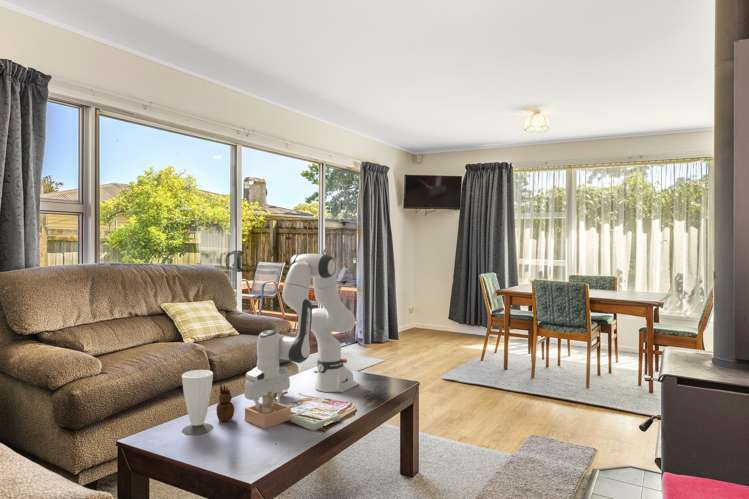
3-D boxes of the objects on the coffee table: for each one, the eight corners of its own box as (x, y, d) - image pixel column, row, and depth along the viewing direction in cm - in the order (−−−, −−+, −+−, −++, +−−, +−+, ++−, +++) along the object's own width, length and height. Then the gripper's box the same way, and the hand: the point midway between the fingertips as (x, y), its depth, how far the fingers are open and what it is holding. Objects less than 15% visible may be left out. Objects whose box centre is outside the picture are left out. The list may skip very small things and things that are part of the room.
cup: (175, 432, 188) (174, 375, 187) (196, 421, 199) (196, 368, 198) (199, 437, 184) (199, 379, 183) (219, 426, 194) (219, 371, 194)
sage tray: (316, 412, 210) (316, 406, 210) (339, 420, 201) (339, 414, 201) (290, 421, 200) (290, 415, 200) (313, 430, 191) (313, 424, 191)
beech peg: (268, 417, 205) (269, 388, 204) (275, 419, 202) (275, 390, 201) (259, 420, 201) (259, 390, 201) (266, 422, 198) (266, 393, 198)
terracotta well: (271, 411, 210) (271, 400, 210) (290, 419, 202) (290, 407, 202) (244, 420, 201) (244, 408, 201) (264, 428, 192) (264, 416, 192)
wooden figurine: (213, 422, 199) (213, 384, 198) (222, 417, 204) (222, 380, 204) (227, 424, 196) (227, 386, 196) (236, 419, 202) (236, 382, 201)
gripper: (283, 364, 211) (283, 397, 211) (242, 374, 195) (242, 409, 196) (293, 367, 206) (293, 400, 207) (251, 378, 191) (251, 413, 192)
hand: (267, 405), depth 201 cm, fingers open, 8 cm apart
